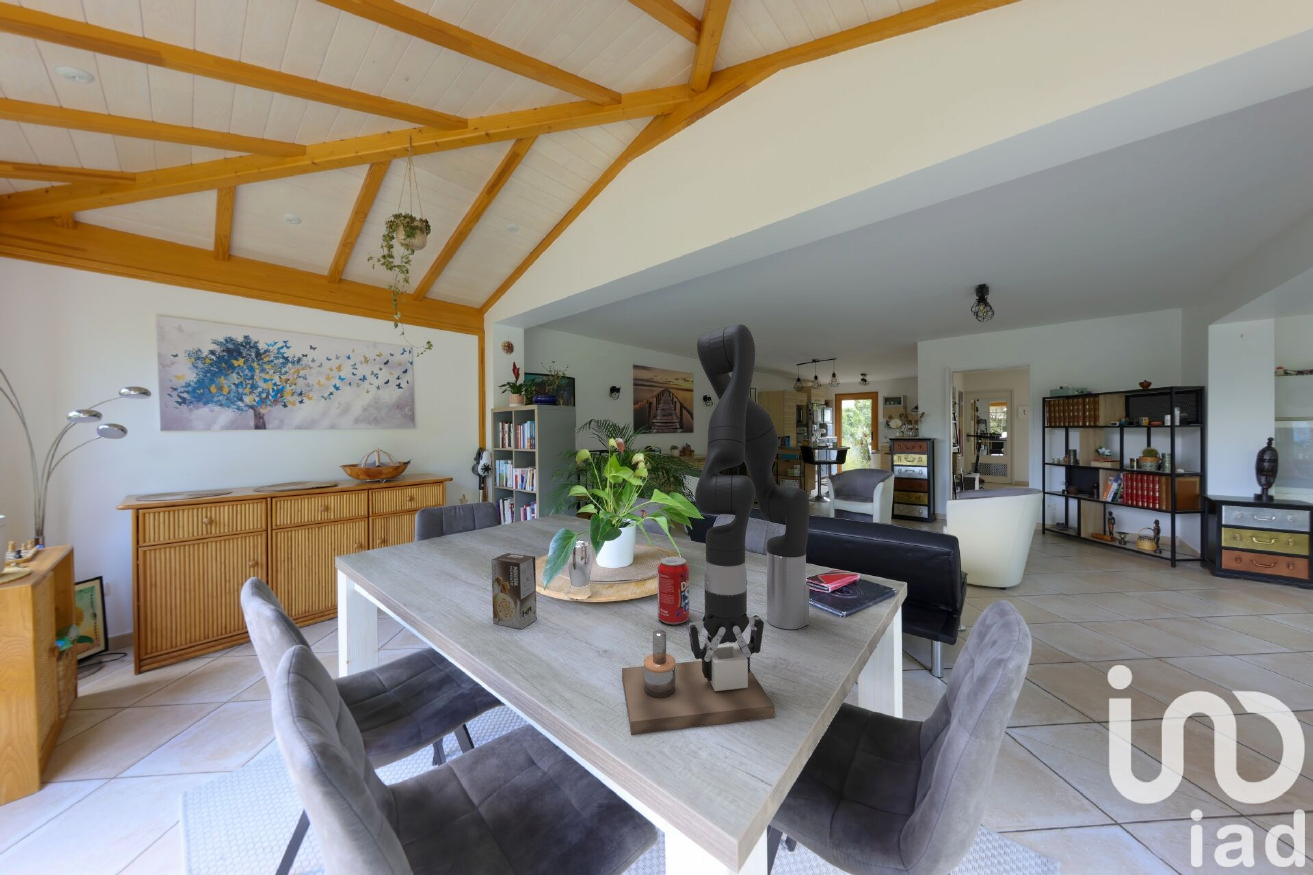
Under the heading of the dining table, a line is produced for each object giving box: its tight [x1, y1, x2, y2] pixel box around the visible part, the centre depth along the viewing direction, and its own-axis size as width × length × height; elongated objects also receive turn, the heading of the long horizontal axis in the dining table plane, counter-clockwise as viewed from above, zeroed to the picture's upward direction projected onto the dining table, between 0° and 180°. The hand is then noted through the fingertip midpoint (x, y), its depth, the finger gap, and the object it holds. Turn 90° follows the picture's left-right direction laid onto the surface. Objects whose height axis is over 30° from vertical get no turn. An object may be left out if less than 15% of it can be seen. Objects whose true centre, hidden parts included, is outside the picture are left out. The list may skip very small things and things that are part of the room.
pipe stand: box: [621, 629, 776, 735], centre depth 82 cm, size 24×16×12 cm, turn 99°
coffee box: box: [490, 552, 538, 630], centre depth 113 cm, size 9×6×16 cm
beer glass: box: [567, 540, 593, 587], centre depth 130 cm, size 7×7×15 cm
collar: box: [710, 642, 748, 691], centre depth 83 cm, size 6×6×5 cm
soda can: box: [657, 556, 690, 626], centre depth 114 cm, size 8×8×15 cm
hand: (725, 676), depth 83 cm, fingers closed on collar, 6 cm apart
